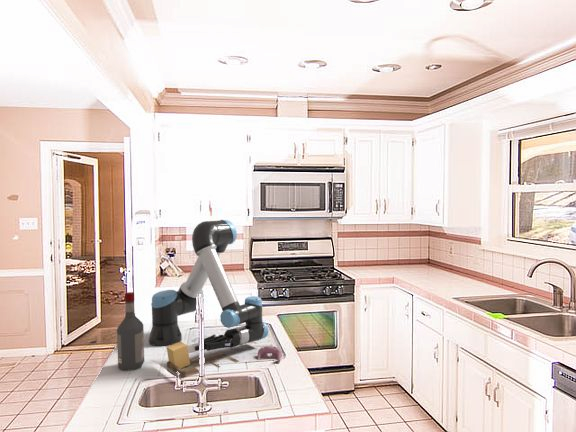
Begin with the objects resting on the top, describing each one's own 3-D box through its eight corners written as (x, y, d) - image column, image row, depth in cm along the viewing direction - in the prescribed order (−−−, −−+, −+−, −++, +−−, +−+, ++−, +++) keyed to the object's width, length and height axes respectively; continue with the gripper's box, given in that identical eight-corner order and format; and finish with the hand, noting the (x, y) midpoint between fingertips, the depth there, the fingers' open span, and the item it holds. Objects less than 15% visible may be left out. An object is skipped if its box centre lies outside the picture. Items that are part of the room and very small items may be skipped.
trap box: (167, 370, 175) (166, 362, 174) (221, 355, 191) (221, 347, 190) (183, 381, 164) (183, 372, 164) (239, 364, 180) (239, 356, 180)
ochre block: (169, 365, 176) (166, 346, 175) (183, 360, 179) (180, 341, 178) (176, 370, 171) (173, 350, 170) (190, 364, 175) (187, 345, 174)
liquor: (145, 361, 185) (143, 290, 183) (140, 370, 176) (138, 295, 174) (122, 362, 184) (120, 291, 182) (116, 371, 175) (114, 296, 173)
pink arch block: (281, 364, 184) (281, 346, 187) (280, 363, 180) (280, 345, 183) (257, 363, 185) (258, 346, 188) (256, 362, 181) (257, 344, 184)
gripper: (245, 349, 186) (194, 363, 171) (228, 342, 196) (179, 355, 181) (244, 331, 186) (194, 344, 171) (227, 325, 196) (178, 336, 181)
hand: (186, 349), depth 176 cm, fingers closed
